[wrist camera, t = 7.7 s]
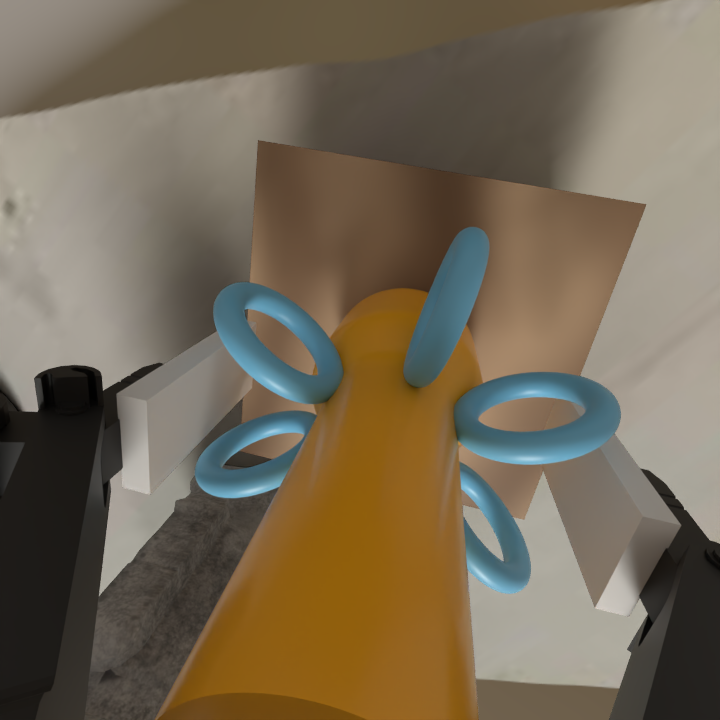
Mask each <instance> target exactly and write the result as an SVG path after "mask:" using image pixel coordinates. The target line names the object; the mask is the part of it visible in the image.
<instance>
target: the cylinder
mask: <svg viewBox="0 0 720 720" xmlns="http://www.w3.org/2000/svg"><path fill="white" fill-rule="evenodd" d="M488 257H489V239H488V237H487V235H486V233H485V232H484V231H483V230H482V229H480V228H477V227H468V228H465V229H463V230H462V231H460V232H459V233H458V234H457V236H456V237H455V239H454V240H453V242H452V244H451V245H450V247H449V249H448V251H447V253H446V255H445V257H444V259H443V261H442V264H441V266H440V268H439V270H438V272H437V275H436V277H435V279H434V282H433V284H432V286H431V289H430V291H429V293H428V292H425V291H421V290H417V289H409V288H396V289H389V290H384V291H381V292H378V293H375V294H373V295H371V296H369V297H367V298H365V299H364V300H362V301H361V302H359V303H358V304H357V305H356V306H355V307H353V308H352V309H351V310H350V312H349V313H348V314H347V315H346V316H345V318H344V319H343V320H342V322H341V323H340V324H339V326H338V327H337V328H336V330H335V331H334V332H333V334H332V335H331V336H330V338H329V337H328V335H327V334H326V333H325V331H324V330H323V329H322V328H321V327H320V325H319V324H318V323H317V322H316V321H315V320H314V319H313V318H312V317H311V316H310V315H309V314H308V313H307V312H306V311H304V310H303V309H302V308H301V307H300V306H298V305H297V304H296V303H294V302H293V301H292V300H290V299H289V298H287V297H286V296H284V295H282V294H280V293H279V292H277V291H275V290H273V289H271V288H268V287H266V286H263V285H260V284H256V283H250V282H238V283H234V284H231V285H229V286H227V287H225V288H224V289H223V290H222V291H221V292H220V293H219V294H218V296H217V298H216V300H215V303H214V309H213V315H214V322H215V326H216V329H217V332H218V334H219V336H220V338H221V340H222V342H223V344H224V346H225V347H226V349H227V350H228V352H229V353H230V354H231V356H232V357H233V358H234V360H235V361H236V362H237V363H238V364H239V365H240V366H241V367H242V368H243V369H244V370H245V371H246V372H247V373H248V374H249V375H250V376H251V377H252V378H254V379H255V380H256V381H257V382H259V383H260V384H261V385H263V386H264V387H266V388H267V389H269V390H270V391H272V392H274V393H276V394H277V395H279V396H282V397H284V398H286V399H289V400H291V401H294V402H298V403H303V404H313V405H314V409H315V412H316V414H314V413H311V412H307V411H298V410H292V411H282V412H276V413H271V414H268V415H264V416H261V417H258V418H255V419H252V420H250V421H247V422H245V423H243V424H240V425H238V426H236V427H235V428H233V429H231V430H229V431H227V432H226V433H224V434H223V435H221V436H220V437H218V438H217V439H216V440H215V441H213V442H212V443H211V444H210V445H209V446H208V447H207V448H206V449H205V450H204V451H203V453H202V454H201V456H200V457H199V459H198V461H197V464H196V467H195V478H196V481H197V483H198V485H199V486H200V487H201V488H202V489H203V490H204V491H205V492H207V493H208V494H211V495H213V496H217V497H222V498H241V497H248V496H253V495H257V494H261V493H264V492H267V491H270V490H273V489H275V488H277V487H279V489H278V491H277V492H276V494H275V496H274V498H273V500H272V502H271V504H270V506H269V507H268V509H267V511H266V513H265V515H264V517H263V519H262V520H261V522H260V524H259V526H258V528H257V530H256V532H255V533H254V535H253V537H252V539H251V541H250V543H249V545H248V546H247V548H246V550H245V552H244V554H243V556H242V558H241V559H240V561H239V563H238V565H237V567H236V569H235V571H234V572H233V574H232V576H231V578H230V580H229V582H228V584H227V586H226V587H225V589H224V591H223V593H222V595H221V597H220V599H219V600H218V602H217V604H216V606H215V608H214V610H213V612H212V613H211V615H210V617H209V619H208V621H207V623H206V625H205V626H204V628H203V630H202V632H201V634H200V636H199V638H198V639H197V641H196V643H195V645H194V647H193V649H192V651H191V652H190V654H189V656H188V658H187V660H186V662H185V664H184V665H183V667H182V669H181V671H180V673H179V675H178V677H177V678H176V680H175V682H174V684H173V686H172V688H171V690H170V691H169V693H168V695H167V697H166V699H165V701H164V703H163V704H162V706H161V708H160V710H159V712H158V714H157V716H156V717H155V719H154V720H479V715H478V702H477V689H476V676H475V663H474V650H473V637H472V624H471V611H470V598H469V585H468V571H469V572H470V573H471V574H473V575H474V576H475V577H476V578H477V579H478V580H479V581H481V582H482V583H483V584H485V585H486V586H488V587H490V588H491V589H493V590H496V591H498V592H501V593H507V594H511V593H516V592H519V591H521V590H522V589H523V588H524V587H525V586H526V585H527V583H528V581H529V578H530V574H531V563H530V557H529V553H528V549H527V546H526V543H525V541H524V538H523V536H522V534H521V532H520V530H519V528H518V526H517V524H516V522H515V520H514V518H513V517H512V515H511V513H510V512H509V510H508V509H507V507H506V506H505V504H504V503H503V502H502V500H501V499H500V498H499V496H498V495H497V494H496V492H495V491H494V490H493V489H492V488H491V487H490V485H489V484H488V483H487V482H486V481H485V480H484V479H483V478H482V477H481V476H480V475H479V474H477V473H476V472H475V471H474V470H473V469H471V468H470V467H469V466H467V465H465V464H464V463H462V462H460V461H459V448H460V447H461V446H462V445H463V446H464V447H466V448H467V449H468V450H470V451H472V452H473V453H475V454H477V455H480V456H482V457H485V458H487V459H491V460H494V461H499V462H504V463H511V464H523V465H536V464H549V463H556V462H561V461H566V460H570V459H573V458H577V457H579V456H582V455H585V454H587V453H589V452H591V451H593V450H595V449H597V448H599V447H600V446H602V445H603V444H604V443H605V442H607V441H608V440H609V439H610V438H611V437H612V436H613V434H614V433H615V432H616V430H617V428H618V426H619V423H620V418H621V411H620V406H619V403H618V401H617V399H616V398H615V396H614V395H613V394H612V393H611V392H610V391H609V390H608V389H607V388H605V387H604V386H602V385H601V384H599V383H597V382H595V381H593V380H590V379H588V378H585V377H581V376H578V375H573V374H567V373H559V372H528V373H519V374H513V375H508V376H503V377H500V378H496V379H493V380H490V381H487V382H485V383H483V380H482V375H481V370H480V366H479V362H478V358H477V353H476V349H475V345H474V341H473V338H472V335H471V333H470V330H469V328H468V326H467V324H466V323H467V321H468V318H469V316H470V314H471V311H472V309H473V306H474V303H475V301H476V298H477V295H478V292H479V290H480V287H481V284H482V280H483V277H484V274H485V270H486V266H487V262H488ZM245 309H252V310H257V311H260V312H262V313H265V314H267V315H269V316H271V317H273V318H274V319H276V320H277V321H279V322H280V323H282V324H283V325H285V326H286V327H287V328H288V329H289V330H291V331H292V332H293V333H294V334H295V335H296V336H297V337H298V338H299V339H300V340H301V341H302V343H303V344H304V345H305V346H306V348H307V349H308V350H309V352H310V354H311V355H312V357H313V359H314V361H315V366H314V369H313V374H312V375H309V374H306V373H303V372H300V371H298V370H296V369H294V368H293V367H291V366H289V365H288V364H286V363H285V362H283V361H282V360H281V359H279V358H278V357H277V356H275V355H274V354H273V353H272V352H271V351H270V350H269V349H268V348H267V347H266V346H265V345H264V344H263V343H262V342H261V341H260V340H259V338H258V337H257V336H256V335H255V333H254V332H253V330H252V329H251V327H250V325H249V324H248V322H247V319H246V317H245V312H244V310H245ZM531 397H548V398H557V399H563V400H567V401H570V402H573V403H576V404H578V405H580V406H581V407H583V408H584V409H585V413H584V414H583V415H582V416H581V417H580V418H578V419H576V420H575V421H573V422H571V423H568V424H566V425H563V426H559V427H556V428H551V429H546V430H540V431H527V432H517V431H505V430H499V429H495V428H492V427H489V426H486V425H484V424H482V423H481V422H480V421H479V420H478V419H479V417H480V415H481V414H482V413H483V412H485V411H486V410H488V409H489V408H491V407H493V406H495V405H498V404H501V403H504V402H507V401H511V400H516V399H522V398H531ZM283 433H301V434H304V437H303V438H302V440H301V441H300V442H299V443H298V444H296V445H295V446H294V447H293V448H291V449H290V450H288V451H287V452H285V453H284V454H282V455H280V456H278V457H276V458H274V459H272V460H270V461H267V462H265V463H262V464H259V465H256V466H252V467H248V468H243V469H235V470H228V469H223V468H222V467H223V465H224V464H225V462H226V461H227V460H228V459H229V458H230V457H231V456H233V455H234V454H235V453H236V452H238V451H239V450H241V449H243V448H244V447H246V446H248V445H250V444H252V443H254V442H256V441H258V440H261V439H264V438H267V437H270V436H273V435H278V434H283ZM461 489H462V490H463V491H464V492H465V493H466V494H467V495H468V496H469V497H470V498H471V499H472V500H473V501H474V502H475V503H476V505H477V506H478V507H479V508H480V510H481V511H482V512H483V514H484V515H485V517H486V518H487V520H488V521H489V523H490V525H491V527H492V528H493V530H494V532H495V534H496V536H497V539H498V541H499V543H500V546H501V549H502V553H503V558H504V562H503V561H501V560H500V559H498V558H497V557H496V556H495V555H493V554H492V553H491V552H490V551H489V550H488V549H487V548H486V547H485V546H484V544H483V543H482V542H481V541H480V540H479V539H478V537H477V536H476V535H475V533H474V532H473V531H472V529H471V528H470V526H469V525H468V523H467V521H466V520H465V518H464V516H463V505H462V491H461ZM467 570H468V571H467Z"/></svg>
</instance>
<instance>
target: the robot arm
mask: <svg viewBox="0 0 720 720" xmlns="http://www.w3.org/2000/svg"><path fill="white" fill-rule="evenodd" d="M247 322H248V324H249V325H250V327H251V329H252V330H253V332H254V333H255V335H256V322H252V321H247ZM34 381H35V388H36V395H37V401H38V408H39V410H38V412H19V411H17V410H16V408H15V407H14V406H13V405H12V403H11V402H10V401H9V400H8V399H7V398H6V397H5V395H3V394H2V393H1V392H0V720H84V718H85V709H86V700H87V692H88V683H89V675H90V666H91V658H92V649H93V640H94V632H95V623H96V615H97V606H98V597H99V589H100V580H101V572H102V563H103V554H104V546H105V537H106V529H107V520H108V512H109V503H110V494H111V487H110V479H111V478H112V477H113V476H114V475H115V474H116V473H118V472H119V471H120V470H122V485H123V488H126V489H130V490H134V491H137V492H141V493H145V494H149V495H150V494H151V493H152V492H153V491H154V490H155V489H156V488H157V487H158V486H159V485H160V484H161V483H162V482H163V481H164V480H165V479H166V478H167V476H168V475H169V474H170V473H171V472H172V471H173V470H174V469H175V468H176V467H177V466H178V465H179V464H180V463H181V462H182V461H183V460H184V459H185V458H186V457H187V455H188V454H189V453H190V452H191V451H192V450H193V449H194V448H195V447H196V446H197V445H198V444H199V443H200V442H201V441H202V440H203V439H204V438H205V437H206V436H207V435H208V433H209V432H210V431H211V430H212V429H213V428H214V427H215V426H216V425H217V424H218V423H219V422H220V421H221V420H222V419H223V418H224V417H225V416H226V415H227V414H228V413H229V411H230V410H231V409H232V408H233V407H234V406H235V405H236V404H237V403H238V402H239V401H240V400H241V399H242V398H243V397H244V396H245V395H246V394H247V393H248V392H249V390H250V389H251V388H252V381H253V378H252V377H251V376H250V375H249V374H248V373H247V372H246V371H245V370H244V369H243V368H242V367H241V366H240V365H239V364H238V363H237V362H236V361H235V360H234V358H233V357H232V356H231V354H230V353H229V352H228V350H227V349H226V347H225V346H224V344H223V342H222V340H221V338H220V336H219V334H218V332H217V331H216V332H215V333H213V334H211V335H210V336H208V337H207V338H205V339H203V340H202V341H200V342H199V343H197V344H195V345H194V346H192V347H191V348H189V349H187V350H186V351H184V352H183V353H181V354H179V355H178V356H176V357H175V358H173V359H171V360H170V361H168V362H167V363H165V364H162V363H156V364H153V365H149V366H146V367H143V368H141V369H139V370H137V371H136V372H134V373H132V374H131V376H127V377H126V378H124V379H122V380H121V382H117V383H115V384H114V385H112V386H110V387H109V388H107V389H105V390H104V391H103V387H102V376H101V372H100V371H98V370H97V369H95V368H92V367H88V366H78V365H70V366H60V367H56V368H52V369H48V370H46V371H43V372H41V373H39V374H38V375H37V376H36V377H35V378H34ZM584 413H585V409H584V408H583V407H581V406H580V405H578V404H576V403H573V402H570V401H567V400H563V399H557V398H556V399H555V402H554V405H553V407H552V410H551V413H550V416H549V418H548V421H547V424H546V426H545V429H544V430H546V429H551V428H556V427H559V426H563V425H566V424H568V423H571V422H573V421H575V420H576V419H578V418H580V417H581V416H582V415H583V414H584ZM541 466H542V468H543V471H544V474H545V476H546V479H547V482H548V484H549V487H550V490H551V492H552V495H553V498H554V500H555V503H556V506H557V508H558V511H559V514H560V516H561V519H562V522H563V524H564V527H565V530H566V532H567V535H568V538H569V540H570V543H571V546H572V548H573V551H574V554H575V556H576V559H577V562H578V564H579V567H580V570H581V572H582V575H583V578H584V580H585V583H586V586H587V588H588V591H589V594H590V596H591V599H592V602H593V604H594V607H595V608H596V609H600V610H604V611H608V612H612V613H616V614H620V615H624V616H627V617H629V616H630V614H631V613H632V611H633V609H634V607H635V606H636V604H637V602H638V600H639V599H641V601H642V603H643V605H644V607H645V609H646V611H647V613H648V615H647V617H646V618H645V620H644V622H643V623H642V625H641V627H640V628H639V630H638V632H637V633H636V635H635V637H634V638H633V640H632V642H631V644H630V645H629V647H628V649H627V650H628V651H630V652H631V656H630V659H629V662H628V665H627V668H626V671H625V674H624V677H623V680H622V683H621V686H620V689H619V692H618V695H617V698H616V700H615V703H614V707H613V709H612V712H611V715H610V718H609V720H720V544H719V543H716V542H713V541H710V540H709V539H708V538H707V536H706V535H705V534H704V533H703V531H702V530H701V529H700V527H699V526H698V525H697V524H696V522H695V521H694V520H693V518H692V517H691V516H690V515H689V513H688V512H687V511H686V510H684V507H683V506H682V504H681V503H680V502H679V500H678V499H675V495H674V494H673V493H672V491H671V490H670V489H669V488H668V486H667V485H666V484H665V483H664V482H663V481H662V480H660V479H659V478H658V477H656V476H655V475H654V474H653V473H651V472H650V471H649V470H644V469H640V468H639V467H638V465H637V464H636V462H635V461H634V460H633V458H632V457H631V456H630V454H629V453H628V451H627V450H626V449H625V447H624V446H623V445H622V443H621V442H620V440H619V439H618V438H617V436H616V435H615V434H613V436H612V437H611V438H610V439H609V440H608V441H607V442H605V443H604V444H603V445H602V446H600V447H599V448H597V449H595V450H593V451H591V452H589V453H587V454H585V455H582V456H579V457H577V458H573V459H570V460H566V461H561V462H556V463H549V464H541Z"/></svg>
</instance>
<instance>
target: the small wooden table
mask: <svg viewBox="0 0 720 720" xmlns="http://www.w3.org/2000/svg"><path fill="white" fill-rule="evenodd" d="M645 207H646V204H641V203H634V202H628V201H622V200H616V199H610V198H604V197H598V196H592V195H586V194H580V193H574V192H568V191H562V190H556V189H550V188H544V187H538V186H531V185H525V184H519V183H513V182H507V181H501V180H495V179H489V178H483V177H477V176H471V175H465V174H459V173H453V172H447V171H441V170H435V169H428V168H422V167H416V166H410V165H404V164H398V163H392V162H386V161H380V160H374V159H368V158H362V157H356V156H350V155H344V154H338V153H331V152H325V151H319V150H313V149H307V148H301V147H295V146H289V145H283V144H277V143H271V142H265V141H259V140H258V151H257V168H256V185H255V201H254V218H253V235H252V252H251V269H250V283H256V284H260V285H263V286H266V287H268V288H271V289H273V290H275V291H277V292H279V293H280V294H282V295H284V296H286V297H287V298H289V299H290V300H292V301H293V302H294V303H296V304H297V305H298V306H300V307H301V308H302V309H303V310H304V311H306V312H307V313H308V314H309V315H310V316H311V317H312V318H313V319H314V320H315V321H316V322H317V323H318V324H319V325H320V327H321V328H322V329H323V330H324V331H325V333H326V334H327V335H328V337H329V338H330V336H331V335H332V334H333V332H334V331H335V330H336V328H337V327H338V326H339V324H340V323H341V322H342V320H343V319H344V318H345V316H346V315H347V314H348V313H349V312H350V310H351V309H352V308H353V307H355V306H356V305H357V304H358V303H359V302H361V301H362V300H364V299H365V298H367V297H369V296H371V295H373V294H375V293H378V292H381V291H384V290H389V289H396V288H409V289H417V290H421V291H425V292H428V293H429V291H430V289H431V286H432V284H433V282H434V279H435V277H436V275H437V272H438V270H439V268H440V266H441V264H442V261H443V259H444V257H445V255H446V253H447V251H448V249H449V247H450V245H451V244H452V242H453V240H454V239H455V237H456V236H457V234H458V233H459V232H460V231H462V230H463V229H465V228H468V227H477V228H480V229H482V230H483V231H484V232H485V233H486V235H487V237H488V239H489V257H488V262H487V266H486V270H485V274H484V277H483V280H482V284H481V287H480V290H479V292H478V295H477V298H476V301H475V303H474V306H473V309H472V311H471V314H470V316H469V318H468V321H467V323H466V324H467V326H468V328H469V330H470V333H471V335H472V338H473V341H474V345H475V349H476V353H477V358H478V362H479V366H480V370H481V375H482V380H483V383H485V382H487V381H490V380H493V379H496V378H500V377H503V376H508V375H513V374H519V373H528V372H559V373H567V374H573V375H578V376H580V374H581V372H582V369H583V367H584V364H585V361H586V359H587V356H588V354H589V351H590V349H591V346H592V343H593V341H594V338H595V336H596V333H597V330H598V328H599V325H600V323H601V320H602V318H603V315H604V312H605V310H606V307H607V305H608V302H609V300H610V297H611V294H612V292H613V289H614V287H615V284H616V282H617V279H618V276H619V274H620V271H621V269H622V266H623V264H624V261H625V258H626V256H627V253H628V251H629V248H630V245H631V243H632V240H633V238H634V235H635V233H636V230H637V227H638V225H639V222H640V220H641V217H642V215H643V212H644V209H645ZM247 321H252V322H256V336H257V337H258V338H259V340H260V341H261V342H262V343H263V344H264V345H265V346H266V347H267V348H268V349H269V350H270V351H271V352H272V353H273V354H274V355H275V356H277V357H278V358H279V359H281V360H282V361H283V362H285V363H286V364H288V365H289V366H291V367H293V368H294V369H296V370H298V371H300V372H303V373H306V374H309V375H312V374H313V369H314V366H315V361H314V359H313V357H312V355H311V354H310V352H309V350H308V349H307V348H306V346H305V345H304V344H303V343H302V341H301V340H300V339H299V338H298V337H297V336H296V335H295V334H294V333H293V332H292V331H291V330H289V329H288V328H287V327H286V326H285V325H283V324H282V323H280V322H279V321H277V320H276V319H274V318H273V317H271V316H269V315H267V314H265V313H262V312H260V311H257V310H252V309H248V319H247ZM555 399H556V398H548V397H531V398H522V399H516V400H511V401H507V402H504V403H501V404H498V405H495V406H493V407H491V408H489V409H488V410H486V411H485V412H483V413H482V414H481V415H480V417H479V419H478V420H479V421H480V422H481V423H482V424H484V425H486V426H489V427H492V428H495V429H499V430H505V431H517V432H527V431H540V430H544V429H545V426H546V424H547V421H548V418H549V416H550V413H551V410H552V407H553V405H554V402H555ZM292 410H298V411H307V412H311V413H314V414H316V412H315V409H314V405H313V404H303V403H298V402H294V401H291V400H289V399H286V398H284V397H282V396H279V395H277V394H276V393H274V392H272V391H270V390H269V389H267V388H266V387H264V386H263V385H261V384H260V383H259V382H257V381H256V380H255V379H254V378H253V381H252V388H251V389H250V390H249V392H248V393H247V394H246V395H245V396H244V397H243V404H242V420H241V424H243V423H245V422H247V421H250V420H252V419H255V418H258V417H261V416H264V415H268V414H271V413H276V412H282V411H292ZM303 437H304V434H301V433H283V434H278V435H273V436H270V437H267V438H264V439H261V440H258V441H256V442H254V443H252V444H250V445H248V446H246V447H244V448H243V449H241V450H240V451H241V452H245V453H249V454H253V455H258V456H262V457H266V458H270V459H274V458H276V457H278V456H280V455H282V454H284V453H285V452H287V451H288V450H290V449H291V448H293V447H294V446H295V445H296V444H298V443H299V442H300V441H301V440H302V438H303ZM459 461H460V462H462V463H464V464H465V465H467V466H469V467H470V468H471V469H473V470H474V471H475V472H476V473H477V474H479V475H480V476H481V477H482V478H483V479H484V480H485V481H486V482H487V483H488V484H489V485H490V487H491V488H492V489H493V490H494V491H495V492H496V494H497V495H498V496H499V498H500V499H501V500H502V502H503V503H504V504H505V506H506V507H507V509H508V510H509V512H510V513H511V515H512V517H515V518H519V519H523V520H524V519H525V516H526V513H527V511H528V508H529V506H530V503H531V501H532V498H533V495H534V493H535V490H536V488H537V485H538V482H539V480H540V477H541V475H542V472H543V468H542V466H541V464H536V465H523V464H511V463H504V462H499V461H494V460H491V459H487V458H485V457H482V456H480V455H477V454H475V453H473V452H472V451H470V450H468V449H467V448H466V447H464V446H463V445H462V446H461V447H460V448H459ZM461 491H462V505H465V506H469V507H474V508H478V509H480V508H479V507H478V506H477V505H476V503H475V502H474V501H473V500H472V499H471V498H470V497H469V496H468V495H467V494H466V493H465V492H464V491H463V490H462V489H461Z"/></svg>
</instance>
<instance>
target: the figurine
mask: <svg viewBox="0 0 720 720" xmlns="http://www.w3.org/2000/svg"><path fill="white" fill-rule="evenodd" d="M222 468H223V469H228V470H235V469H243V468H244V467H236V466H227V465H223V467H222ZM278 489H279V487H277V488H275V489H273V490H270V491H267V492H264V493H261V494H257V495H253V496H248V497H241V498H222V497H217V496H213V495H211V494H208V493H207V492H205V491H204V490H203V489H202V488H201V487H200V486H199V485H198V483H197V481H196V478H195V476H194V478H193V479H192V480H191V484H190V490H191V494H190V495H188V496H187V497H186V498H184V499H180V500H176V502H175V509H174V512H173V513H172V515H171V516H170V517H169V518H168V519H167V520H166V521H165V523H164V524H163V525H162V526H161V528H160V529H159V530H158V531H157V532H156V533H155V534H154V535H153V536H152V537H151V538H150V539H149V540H148V541H147V542H146V544H145V545H144V546H143V547H142V548H141V549H140V550H139V552H138V553H137V555H136V556H135V558H134V559H133V561H132V562H131V563H128V564H127V565H126V566H125V568H124V569H123V570H122V571H121V572H120V573H119V574H118V575H117V577H116V578H115V579H114V580H113V581H112V582H111V583H110V584H109V586H108V587H107V588H106V589H105V590H104V591H103V592H102V594H101V595H100V596H99V597H98V606H97V615H96V623H95V632H94V640H93V649H92V658H91V666H90V675H89V683H88V692H87V700H86V709H85V718H84V720H154V719H155V717H156V716H157V714H158V712H159V710H160V708H161V706H162V704H163V703H164V701H165V699H166V697H167V695H168V693H169V691H170V690H171V688H172V686H173V684H174V682H175V680H176V678H177V677H178V675H179V673H180V671H181V669H182V667H183V665H184V664H185V662H186V660H187V658H188V656H189V654H190V652H191V651H192V649H193V647H194V645H195V643H196V641H197V639H198V638H199V636H200V634H201V632H202V630H203V628H204V626H205V625H206V623H207V621H208V619H209V617H210V615H211V613H212V612H213V610H214V608H215V606H216V604H217V602H218V600H219V599H220V597H221V595H222V593H223V591H224V589H225V587H226V586H227V584H228V582H229V580H230V578H231V576H232V574H233V572H234V571H235V569H236V567H237V565H238V563H239V561H240V559H241V558H242V556H243V554H244V552H245V550H246V548H247V546H248V545H249V543H250V541H251V539H252V537H253V535H254V533H255V532H256V530H257V528H258V526H259V524H260V522H261V520H262V519H263V517H264V515H265V513H266V511H267V509H268V507H269V506H270V504H271V502H272V500H273V498H274V496H275V494H276V492H277V491H278Z"/></svg>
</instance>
